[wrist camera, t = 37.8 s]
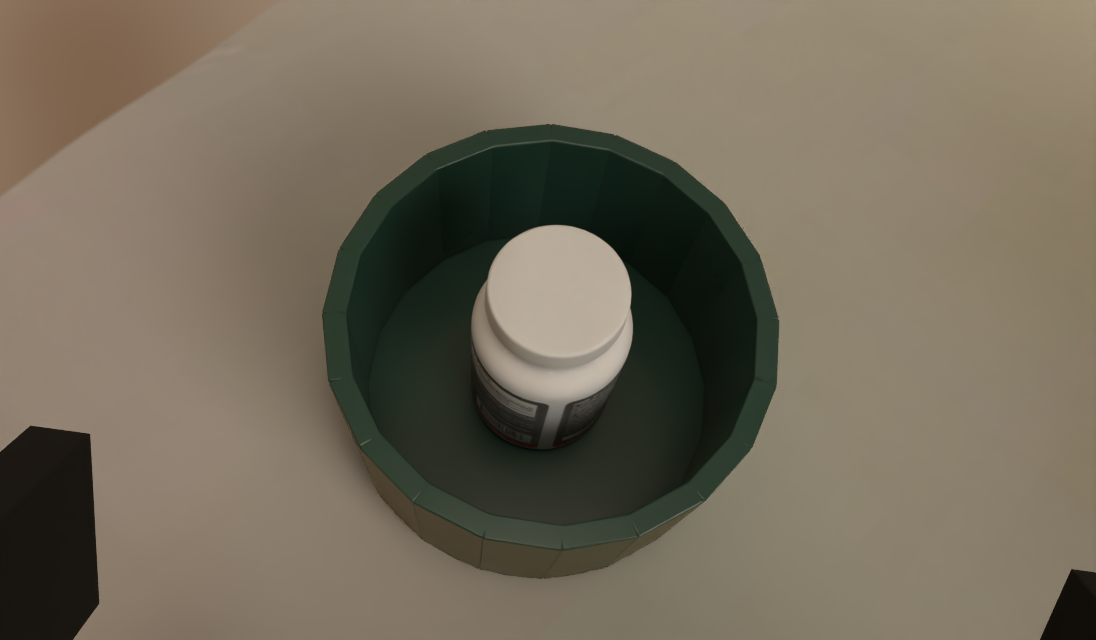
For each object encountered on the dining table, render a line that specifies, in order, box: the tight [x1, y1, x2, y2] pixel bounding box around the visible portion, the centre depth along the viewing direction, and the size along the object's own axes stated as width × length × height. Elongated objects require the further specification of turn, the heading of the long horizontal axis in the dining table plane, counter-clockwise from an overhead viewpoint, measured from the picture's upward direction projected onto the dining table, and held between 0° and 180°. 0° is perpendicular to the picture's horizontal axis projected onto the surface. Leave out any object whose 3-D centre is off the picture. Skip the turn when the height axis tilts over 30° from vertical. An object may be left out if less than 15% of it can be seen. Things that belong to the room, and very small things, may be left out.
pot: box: [322, 124, 779, 579], centre depth 34 cm, size 16×16×8 cm
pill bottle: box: [471, 225, 633, 449], centre depth 33 cm, size 6×6×10 cm
